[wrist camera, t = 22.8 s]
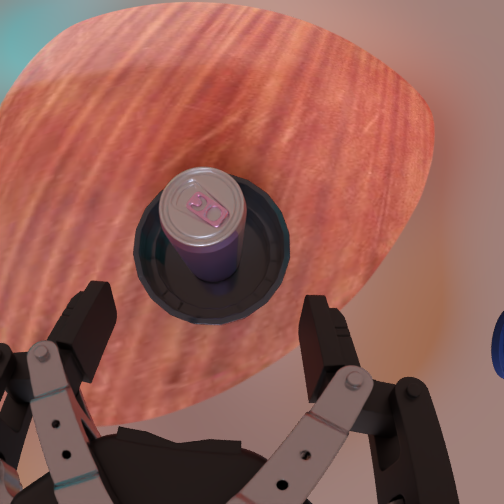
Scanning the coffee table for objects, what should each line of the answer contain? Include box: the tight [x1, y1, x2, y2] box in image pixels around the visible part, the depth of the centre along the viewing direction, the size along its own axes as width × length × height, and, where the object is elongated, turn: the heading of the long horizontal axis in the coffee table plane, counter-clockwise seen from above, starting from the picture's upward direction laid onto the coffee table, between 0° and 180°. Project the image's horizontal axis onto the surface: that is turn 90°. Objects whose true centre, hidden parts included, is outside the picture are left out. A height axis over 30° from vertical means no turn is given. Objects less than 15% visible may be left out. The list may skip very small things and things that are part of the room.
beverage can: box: [159, 167, 247, 282], centre depth 27 cm, size 6×6×15 cm
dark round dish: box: [133, 174, 290, 325], centre depth 32 cm, size 15×15×6 cm
